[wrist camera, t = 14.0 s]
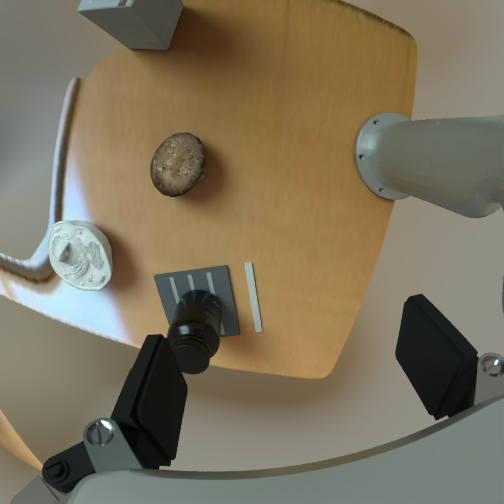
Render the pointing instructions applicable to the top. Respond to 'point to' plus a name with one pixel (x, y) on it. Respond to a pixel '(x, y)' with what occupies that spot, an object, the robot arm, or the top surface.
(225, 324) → the mat
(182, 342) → the supplement bottle
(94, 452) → the robot arm
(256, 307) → the strip
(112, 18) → the skincare box
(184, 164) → the mushroom
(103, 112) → the top surface
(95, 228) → the cell model
